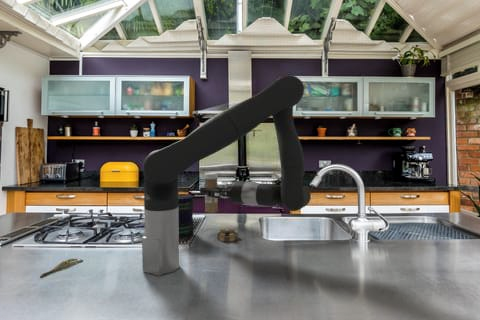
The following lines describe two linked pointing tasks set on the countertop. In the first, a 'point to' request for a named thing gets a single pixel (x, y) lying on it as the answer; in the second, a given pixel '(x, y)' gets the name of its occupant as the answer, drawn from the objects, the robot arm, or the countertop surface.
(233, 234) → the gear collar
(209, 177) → the sprinkles bottle
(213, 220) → the countertop surface
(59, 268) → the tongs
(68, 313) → the countertop surface
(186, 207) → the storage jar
